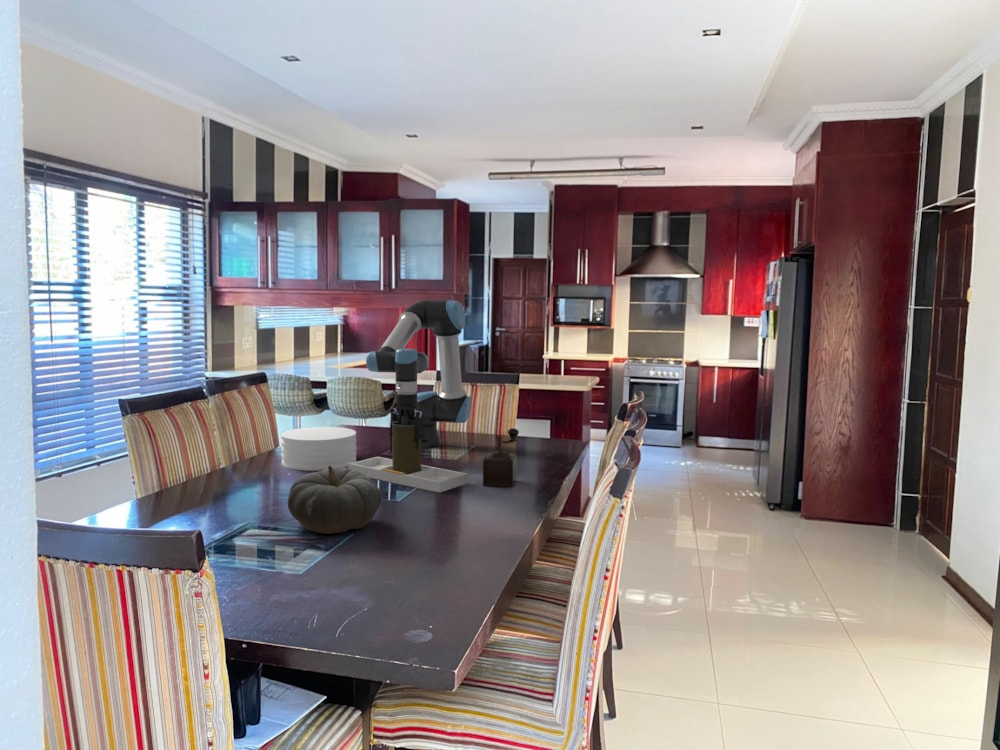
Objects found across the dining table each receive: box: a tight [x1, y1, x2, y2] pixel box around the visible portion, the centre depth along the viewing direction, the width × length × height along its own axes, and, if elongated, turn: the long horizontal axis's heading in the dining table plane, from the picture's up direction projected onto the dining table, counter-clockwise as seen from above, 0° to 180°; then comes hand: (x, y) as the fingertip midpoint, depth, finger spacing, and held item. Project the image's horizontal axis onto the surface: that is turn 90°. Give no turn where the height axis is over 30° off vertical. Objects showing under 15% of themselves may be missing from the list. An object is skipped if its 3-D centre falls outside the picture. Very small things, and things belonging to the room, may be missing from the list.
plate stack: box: [280, 426, 357, 471], centre depth 269 cm, size 28×28×12 cm
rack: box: [347, 456, 469, 493], centre depth 246 cm, size 43×15×4 cm, turn 55°
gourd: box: [287, 466, 382, 535], centre depth 192 cm, size 25×25×17 cm
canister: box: [389, 416, 422, 475], centre depth 245 cm, size 11×10×20 cm
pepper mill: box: [482, 427, 520, 488], centre depth 243 cm, size 16×11×18 cm
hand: (406, 457), depth 246 cm, fingers open, 6 cm apart
